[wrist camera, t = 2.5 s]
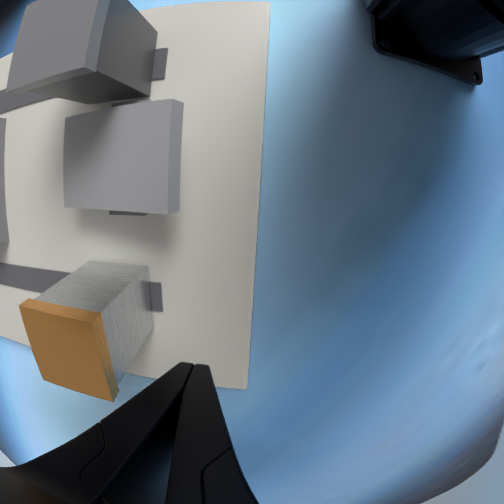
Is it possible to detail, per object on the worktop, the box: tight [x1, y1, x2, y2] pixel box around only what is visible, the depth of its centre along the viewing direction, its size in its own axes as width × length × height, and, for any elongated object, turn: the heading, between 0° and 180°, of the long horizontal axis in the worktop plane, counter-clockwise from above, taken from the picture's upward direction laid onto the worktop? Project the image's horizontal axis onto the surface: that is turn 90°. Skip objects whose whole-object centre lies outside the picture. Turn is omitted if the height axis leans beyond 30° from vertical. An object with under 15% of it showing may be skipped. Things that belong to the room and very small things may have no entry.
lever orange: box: [19, 261, 153, 402], centre depth 10 cm, size 3×3×5 cm
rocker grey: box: [63, 99, 184, 215], centre depth 9 cm, size 5×4×1 cm
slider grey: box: [6, 0, 158, 105], centre depth 7 cm, size 3×3×5 cm
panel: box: [0, 1, 270, 390], centre depth 11 cm, size 22×18×4 cm
